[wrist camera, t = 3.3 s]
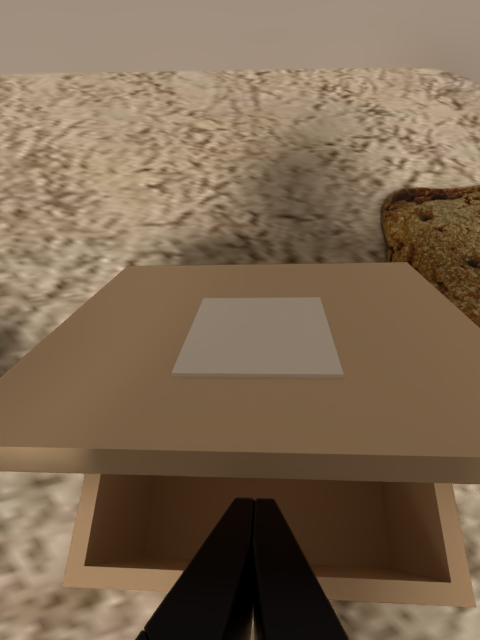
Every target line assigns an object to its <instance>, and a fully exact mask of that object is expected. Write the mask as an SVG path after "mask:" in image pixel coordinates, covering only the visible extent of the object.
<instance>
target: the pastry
mask: <svg viewBox="0 0 480 640" xmlns="http://www.w3.org/2000/svg"><path fill="white" fill-rule="evenodd" d="M382 214H383V216H382V225H383V230H384V233H385V237H386V244H387V245H388V247H389V250H388V252H387V263H391V262H407V263H408V264H409V265H411V266H412V267H413V268H414V269H415V270H416V271H417V272H418V273H419V274H420V275H422V276H423V277H424V278H425V279H426V280H427V281H428V282H429V283H430V284H432V285H433V286H434V287H435V288H436V289H437V290H438V291H439V292H440V293H442V294H443V295H444V296H445V297H446V298H447V299H448V300H449V301H450V302H452V303H453V304H454V305H455V306H456V307H457V308H458V309H459V310H460V311H461V312H463V313H464V314H465V315H466V316H467V317H468V318H469V319H470V320H471V321H473V322H474V323H475V324H476V325H477V326H478V327H479V328H480V186H474V187H470V188H458V189H454V188H451V189H449V190H447V191H446V190H445V189H429V188H413V187H412V188H407V189H403V190H401V191H399V192H397V193H395V194H394V195H391V196H390V198H389V199H388V201H387V202H386V203H385V205H384V208H383V211H382Z"/></svg>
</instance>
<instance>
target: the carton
mask: <svg viewBox="0 0 480 640" xmlns="http://www.w3.org/2000/svg"><path fill="white" fill-rule="evenodd" d="M236 497H250V498H253V499H254V500H256V499H257V498H273V499H275V501H276V502H277V504H278V506H279V508H280V510H281V512H282V514H283V515H284V517H285V519H286V521H287V523H288V525H289V527H290V529H291V531H292V532H293V534H294V536H295V538H296V540H297V542H298V544H299V546H300V548H301V549H302V551H303V553H304V555H305V557H306V559H307V561H308V563H309V564H310V566H311V568H312V570H313V572H314V574H315V576H316V578H317V580H318V581H319V583H320V585H321V587H322V589H323V591H324V593H325V595H326V597H327V598H328V600H340V601H360V602H380V603H400V604H420V605H440V606H461V607H476V604H475V598H474V593H473V588H472V583H471V578H470V573H469V568H468V563H467V558H466V552H465V547H464V542H463V537H462V532H461V527H460V522H459V517H458V512H457V506H456V501H455V496H454V491H453V486H452V483H418V482H381V481H344V480H307V479H270V478H233V477H196V476H159V475H122V474H85V476H84V481H83V486H82V491H81V496H80V501H79V506H78V511H77V516H76V521H75V526H74V531H73V536H72V541H71V546H70V551H69V556H68V561H67V566H66V570H65V575H64V580H63V585H62V587H79V588H99V589H119V590H139V591H159V592H169V591H170V590H171V588H172V587H173V585H174V584H175V583H176V581H177V580H178V578H179V577H180V575H181V574H182V573H183V571H184V570H185V568H186V567H187V565H188V564H189V563H190V561H191V560H192V558H193V557H194V555H195V554H196V553H197V551H198V550H199V548H200V547H201V545H202V544H203V543H204V541H205V540H206V538H207V537H208V536H209V534H210V533H211V531H212V530H213V528H214V527H215V526H216V524H217V523H218V521H219V520H220V518H221V517H222V516H223V514H224V513H225V511H226V510H227V508H228V507H229V506H230V504H231V503H232V501H233V500H234V499H235V498H236Z"/></svg>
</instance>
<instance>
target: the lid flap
mask: <svg viewBox="0 0 480 640" xmlns="http://www.w3.org/2000/svg"><path fill="white" fill-rule="evenodd" d="M0 471H12V472H49V473H85V474H122V475H159V476H196V477H233V478H270V479H307V480H344V481H381V482H418V483H454V484H480V328H479V327H478V326H477V325H476V324H475V323H474V322H473V321H471V320H470V319H469V318H468V317H467V316H466V315H465V314H464V313H463V312H461V311H460V310H459V309H458V308H457V307H456V306H455V305H454V304H453V303H452V302H450V301H449V300H448V299H447V298H446V297H445V296H444V295H443V294H442V293H440V292H439V291H438V290H437V289H436V288H435V287H434V286H433V285H432V284H430V283H429V282H428V281H427V280H426V279H425V278H424V277H423V276H422V275H420V274H419V273H418V272H417V271H416V270H415V269H414V268H413V267H412V266H411V265H409V264H408V263H407V262H391V263H319V264H247V265H175V266H127V267H126V268H125V269H124V270H123V271H121V272H120V273H119V274H118V275H117V276H116V277H115V278H113V279H112V280H111V281H110V282H109V283H108V284H107V285H105V286H104V287H103V288H102V289H101V290H100V291H99V292H97V293H96V294H95V295H94V296H93V297H92V298H91V299H89V300H88V301H87V302H86V303H85V304H84V305H83V306H81V307H80V308H79V309H78V310H77V311H76V312H74V313H73V314H72V315H71V316H70V317H69V318H68V319H66V320H65V321H64V322H63V323H62V324H61V325H60V326H58V327H57V328H56V329H55V330H54V331H53V332H52V333H50V334H49V335H48V336H47V337H46V338H45V339H44V340H42V341H41V342H40V343H39V344H38V345H37V346H36V347H34V348H33V349H32V350H31V351H30V352H29V353H28V354H26V355H25V356H24V357H23V358H22V359H21V360H20V361H18V362H17V363H16V364H15V365H14V366H13V367H12V368H10V369H9V370H8V371H7V372H6V373H5V374H4V375H2V376H1V377H0Z"/></svg>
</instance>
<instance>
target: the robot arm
mask: <svg viewBox="0 0 480 640" xmlns="http://www.w3.org/2000/svg"><path fill="white" fill-rule="evenodd" d="M253 613H254V634H255V640H349V638H348V636H347V634H346V632H345V630H344V629H343V627H342V625H341V623H340V621H339V619H338V617H337V615H336V613H335V612H334V610H333V608H332V606H331V604H330V602H329V600H328V598H327V597H326V595H325V593H324V591H323V589H322V587H321V585H320V583H319V581H318V580H317V578H316V576H315V574H314V572H313V570H312V568H311V566H310V564H309V563H308V561H307V559H306V557H305V555H304V553H303V551H302V549H301V548H300V546H299V544H298V542H297V540H296V538H295V536H294V534H293V532H292V531H291V529H290V527H289V525H288V523H287V521H286V519H285V517H284V515H283V514H282V512H281V510H280V508H279V506H278V504H277V502H276V501H275V499H273V498H257V499H256V500H254V499H253V498H250V497H236V498H235V499H234V500H233V501H232V503H231V504H230V506H229V507H228V508H227V510H226V511H225V513H224V514H223V516H222V517H221V518H220V520H219V521H218V523H217V524H216V526H215V527H214V528H213V530H212V531H211V533H210V534H209V536H208V537H207V538H206V540H205V541H204V543H203V544H202V545H201V547H200V548H199V550H198V551H197V553H196V554H195V555H194V557H193V558H192V560H191V561H190V563H189V564H188V565H187V567H186V568H185V570H184V571H183V573H182V574H181V575H180V577H179V578H178V580H177V581H176V583H175V584H174V585H173V587H172V588H171V590H170V591H169V593H168V594H167V595H166V597H165V598H164V600H163V601H162V602H161V604H160V605H159V607H158V608H157V610H156V611H155V612H154V614H153V615H152V617H151V618H150V620H149V621H148V622H147V624H146V625H145V627H144V630H142V631H141V632H140V633H139V635H138V636H137V638H136V639H135V640H250V636H251V628H252V619H253Z"/></svg>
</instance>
